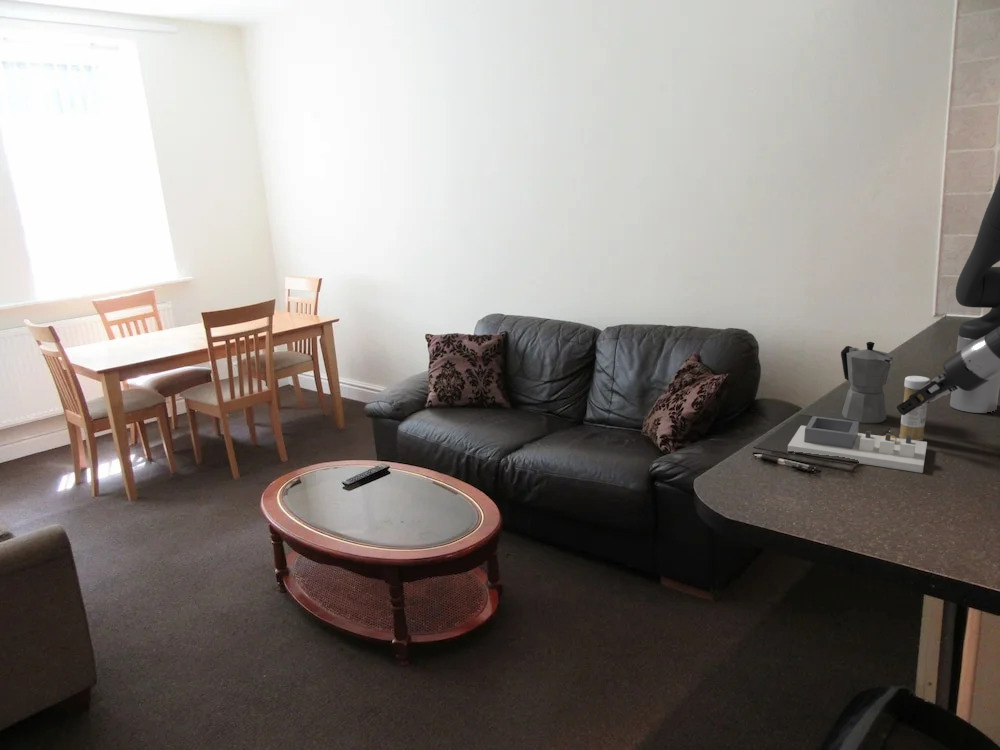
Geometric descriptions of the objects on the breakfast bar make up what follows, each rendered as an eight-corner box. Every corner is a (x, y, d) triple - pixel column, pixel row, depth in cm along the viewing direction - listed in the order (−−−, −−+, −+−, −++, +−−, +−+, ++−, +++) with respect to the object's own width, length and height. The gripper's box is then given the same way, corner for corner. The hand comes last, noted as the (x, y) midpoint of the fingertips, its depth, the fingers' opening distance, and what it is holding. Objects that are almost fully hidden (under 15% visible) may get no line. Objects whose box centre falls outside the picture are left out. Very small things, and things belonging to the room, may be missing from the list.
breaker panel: (800, 431, 155) (802, 409, 154) (926, 448, 142) (929, 425, 141) (787, 452, 144) (788, 428, 142) (922, 472, 131) (925, 447, 130)
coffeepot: (902, 423, 157) (911, 345, 152) (866, 428, 155) (874, 349, 151) (854, 404, 172) (860, 332, 167) (820, 408, 170) (826, 336, 165)
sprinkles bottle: (909, 434, 151) (916, 374, 147) (928, 440, 146) (935, 379, 143) (893, 437, 149) (899, 376, 146) (912, 444, 145) (919, 382, 142)
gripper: (979, 341, 140) (912, 385, 152) (949, 353, 132) (881, 399, 144) (1006, 371, 138) (936, 414, 150) (977, 385, 129) (905, 429, 141)
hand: (909, 406), depth 147 cm, fingers open, 8 cm apart
